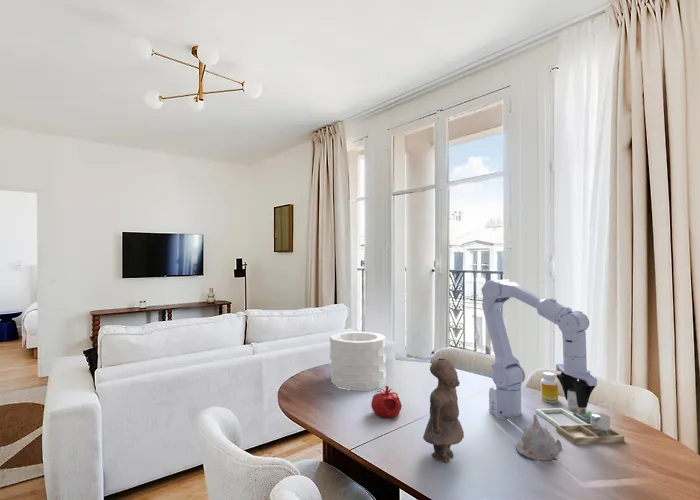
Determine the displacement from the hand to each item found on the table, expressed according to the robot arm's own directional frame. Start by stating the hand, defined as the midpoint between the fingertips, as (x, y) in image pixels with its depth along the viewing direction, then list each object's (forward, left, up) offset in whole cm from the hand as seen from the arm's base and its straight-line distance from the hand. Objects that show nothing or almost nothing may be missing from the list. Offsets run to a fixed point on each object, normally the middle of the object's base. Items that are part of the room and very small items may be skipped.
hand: (576, 403), depth 107 cm
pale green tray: (+2, +11, -10) cm, 15 cm away
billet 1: (0, 0, -2) cm, 2 cm away
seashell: (-14, -5, -10) cm, 18 cm away
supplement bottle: (+10, +29, -10) cm, 32 cm away
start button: (+10, +9, -8) cm, 16 cm away
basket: (-56, +59, -10) cm, 82 cm away
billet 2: (+7, 0, -9) cm, 11 cm away
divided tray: (+3, 0, -10) cm, 11 cm away
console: (+10, +10, -10) cm, 17 cm away
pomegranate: (-50, +23, -10) cm, 56 cm away
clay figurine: (-40, -5, -10) cm, 42 cm away
